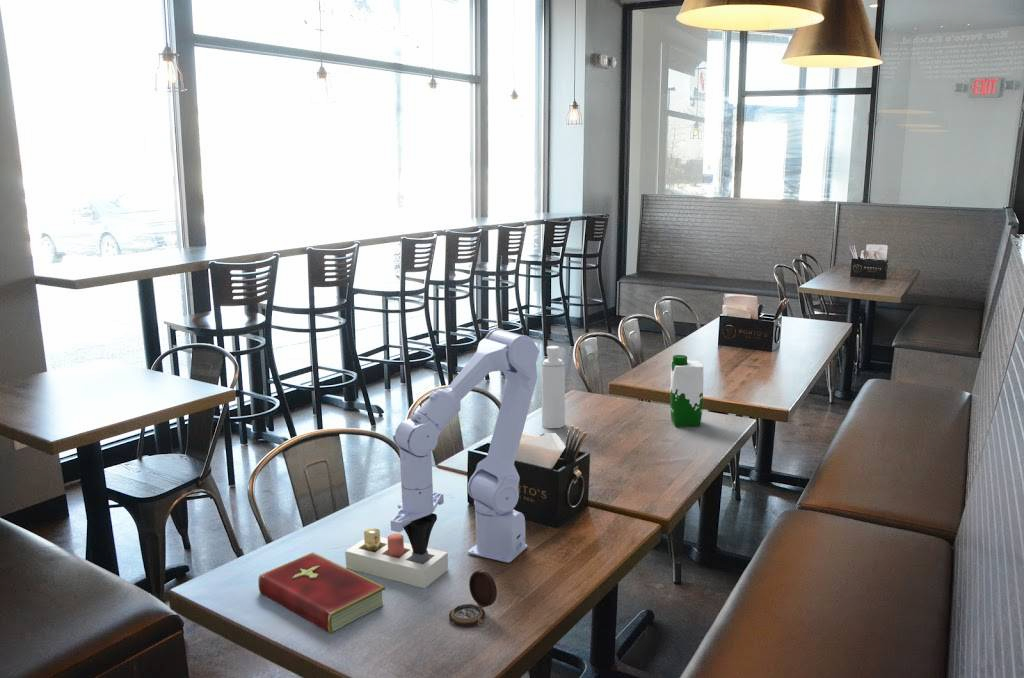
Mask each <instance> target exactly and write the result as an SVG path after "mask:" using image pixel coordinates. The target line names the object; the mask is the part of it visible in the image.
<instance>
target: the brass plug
mask: <svg viewBox="0 0 1024 678" xmlns="http://www.w3.org/2000/svg"><path fill="white" fill-rule="evenodd" d="M363 536H364V537H363V539H364V540H365V550H367V551H371V552H376V551H378V550H379V549H381V544H380V537H381V531H380V529H379V528H376V527H375V528H373V527H372V528H368V529H366V530H364V531H363Z"/></svg>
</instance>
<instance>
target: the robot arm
mask: <svg viewBox="0 0 1024 678" xmlns="http://www.w3.org/2000/svg"><path fill="white" fill-rule="evenodd" d="M539 354H540V349H539V348H538V346H537V345H536V343H535V341H534V340H533V338H532V337H531V336H528V335H524V334H519V333H516V332H511V331H508V330H505V329H503V328H493V329H491V330H490V331H489V332H488V333H487V334H486V335H485V337H484V338H483V339H481V340H480V341H479V342H478V345H477V349H476V351H475V352H474V354H473V355H472V356H471V358H470V359H469V360H468V361H467V362H466V364H465V365H464V366H463V367H462V369H461V371H460V372H459V373H458V374H457V375H456V376H455V378H454V379H453V380H452V381H451V382H450V384H449V385H448V386H447V387H446V388H438V389H436V390H435V391H431V393H429V395H428V399H427V400H426V402H424V403H423V404H422V406H421V407H420V408H419V409H418V410H417V411H415V412H414V413H412V415H411V418H407V419H404V420H403V421H401V422H400V423H399V424H398V426H397V427H396V430H395V434H393V435H392V440H393V443H394V444H395V445H396V446H397V447H398V451H399V460H400V461H399V463H400V484H401V485H400V486H401V502H400V503H398V504H397V509H399V510H398V512H397V513H396V514H395V516H394V517H393V518H392V519H390V531H393V532H396V533H401V532H403V531H404V532H405V534H406V535H407V538H408V540H409V542H410V543H409V544H411V546H412V549H413V552H414V553H416V554H420V555H423V554H424V553H426V551H427V548H429V547H428V546H429V542H430V537H431V533H432V530H433V528H434V525H435V524H436V522H437V520H438V517H437V516H438V515H437V514H436V513H434V512H435V510H436V509H437V507H438V505H439V506H440V505H443V504H445V502H444V501H445V500H444V493H441V492H436V491H435V492H434V490H433V489H434V486H433V485H434V484H433V464H432V463H433V462H432V457H433V456H432V451H434V450H435V449H436V448H437V445H438V441H439V436H440V435H441V433H442V431H443V430H444V429H445V428H446V427H447V425H449V424H450V422H452V420H453V419H454V418H455V416H457V415H458V413H459V412H460V411H461V405H462V404H461V402H462V400H463V398H465V397H467V395H468V394H469V393H471V391H472V390H473V389H474V388H475V387H476V386H478V384H479V383H481V382H482V381H483V380H484V379H485V378H486V377H487V376H488V375H489V374H490V373H492V372H502V373H503V375H504V377H505V378H506V380H507V381H506V385H505V388H504V393H503V396H502V401H501V403H500V408H499V410H498V415H497V419H496V423H495V425H494V426H495V427H494V430H493V433H492V437H491V441H490V445H489V447H488V448H489V449H488V452H487V455H486V457H485V458H483V459H481V460H480V461H479V462H478V463H477V464H476V467H475V470H474V472H473V474H472V475H471V476H470V478H469V481H468V483H467V492H468V494H469V496H470V498H472V499H473V505H474V510H475V513H474V515H475V516H474V517H475V545H473V546H472V547H471V548H469V549H468V550H467V554H469V555H473V556H474V555H475V556H477V557H480V558H481V557H482V558H485V559H490V560H494V561H499V562H504V563H507V564H509V563H512V561H514V559H516V558H517V556H519V555H520V554H521V553H522V552H523V551H524V550H526V549H527V548H528V544H526V543H527V541H526V520H525V519H526V518H525V515H524V514H523V512H520V511H517V510H515V507H516V506H517V504H518V501H519V497H520V490H519V484H520V479H521V477H520V475H519V473H518V471H517V468H516V466H515V461H516V458H517V455H518V451H519V447H520V443H521V440H522V435H523V431H524V428H525V424H526V421H527V417H528V414H529V409H530V406H531V403H532V399H533V395H534V391H535V387H536V384H537V380H538V371H537V369H538V368H537V361H538V357H539Z"/></svg>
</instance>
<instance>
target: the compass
mask: <svg viewBox="0 0 1024 678" xmlns="http://www.w3.org/2000/svg"><path fill="white" fill-rule="evenodd" d="M468 586H469V592H470V595H471V597H472V599H473V601H474V602H475V603H476V604H473V603H462V604H460V605H457V606H455V607H454V608H453V609H451V610H450V611H449V614H448V619H449V622H450V623H451V624H452V625H454V626H456V627H458V628H459V627H460V628H473V627H475V626H478V625H479V626H480V627H486V626H488V625H489V624H490V622H489V620H487V619H486V612H485V610H484V608H485V607H490V606H492V605H494V603H495V602H496V599H497V596H498V591H497V590H498V589H497V585H496V582H495V580H494V578H493V576H492V575H491V574H490V573H489V572H488V571H486V570H483V569H479V570H476V571H473V573H472V574H471V576H470V578H469V581H468ZM483 621H485V622H487V624H483Z"/></svg>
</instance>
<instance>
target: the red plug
mask: <svg viewBox="0 0 1024 678" xmlns="http://www.w3.org/2000/svg"><path fill="white" fill-rule="evenodd" d="M386 538H387V540H388V556H391V557H395V558H400V557H401V556H403V555H404V542H405V541H404V535H403V534H402V533H401V534H400V533H392V534H390V535H388V536H387V537H386Z"/></svg>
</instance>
